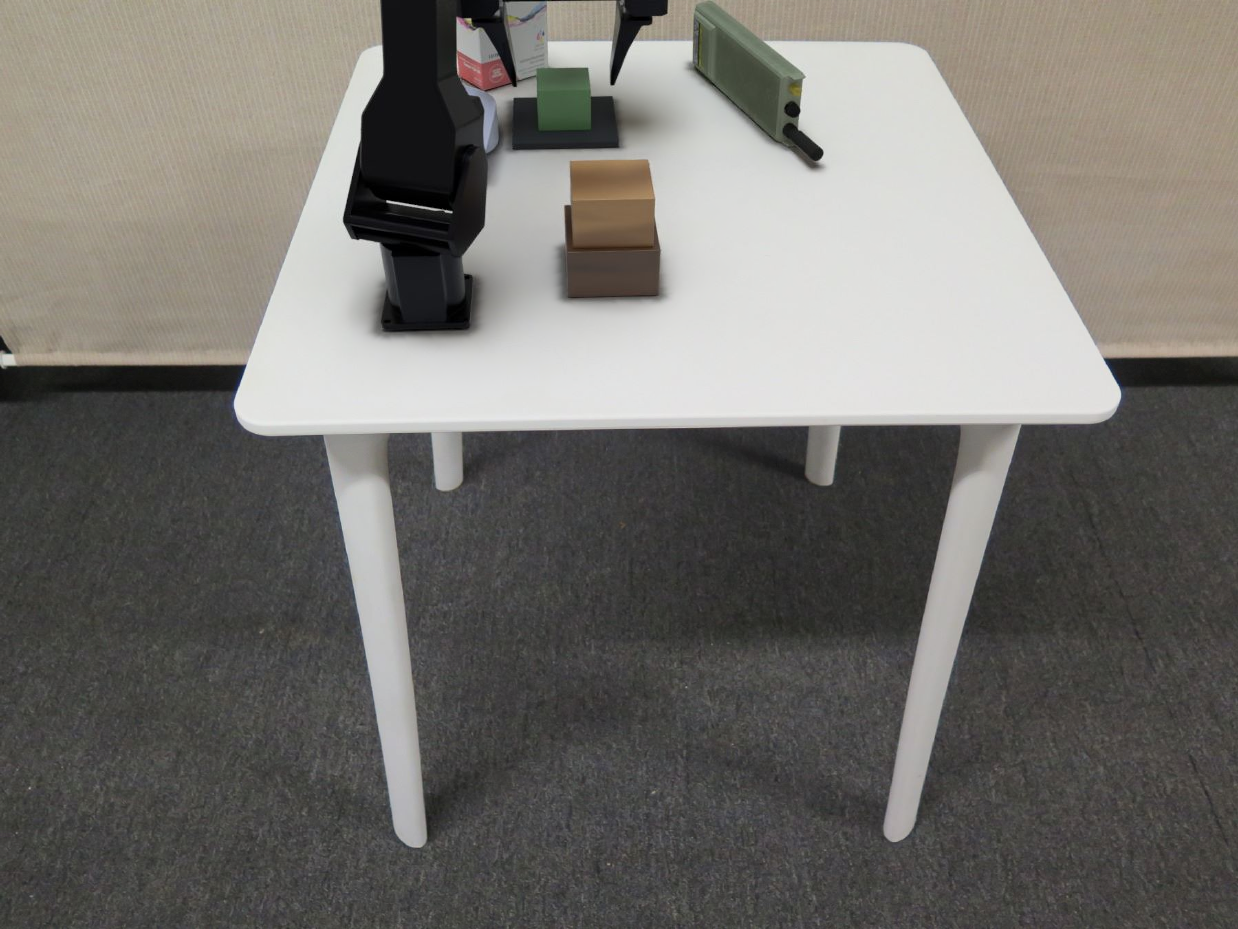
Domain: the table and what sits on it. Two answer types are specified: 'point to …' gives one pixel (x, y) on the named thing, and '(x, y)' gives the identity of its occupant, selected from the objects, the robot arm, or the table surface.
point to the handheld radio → (751, 75)
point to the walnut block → (611, 268)
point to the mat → (532, 138)
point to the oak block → (612, 203)
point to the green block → (563, 99)
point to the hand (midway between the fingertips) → (563, 84)
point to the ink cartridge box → (527, 39)
